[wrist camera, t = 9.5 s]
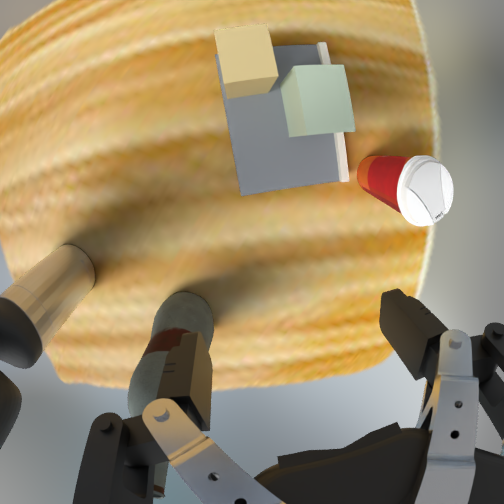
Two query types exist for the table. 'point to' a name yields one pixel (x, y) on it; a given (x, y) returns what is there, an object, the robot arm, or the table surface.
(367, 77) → the table surface
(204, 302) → the bottle
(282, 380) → the table surface
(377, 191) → the paper cup
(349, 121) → the tea box
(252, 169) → the display board
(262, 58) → the mustard box
